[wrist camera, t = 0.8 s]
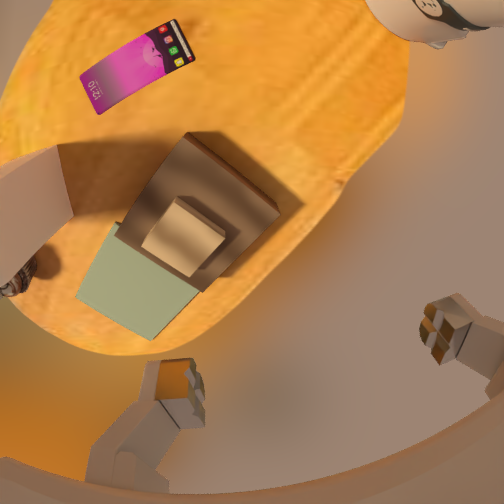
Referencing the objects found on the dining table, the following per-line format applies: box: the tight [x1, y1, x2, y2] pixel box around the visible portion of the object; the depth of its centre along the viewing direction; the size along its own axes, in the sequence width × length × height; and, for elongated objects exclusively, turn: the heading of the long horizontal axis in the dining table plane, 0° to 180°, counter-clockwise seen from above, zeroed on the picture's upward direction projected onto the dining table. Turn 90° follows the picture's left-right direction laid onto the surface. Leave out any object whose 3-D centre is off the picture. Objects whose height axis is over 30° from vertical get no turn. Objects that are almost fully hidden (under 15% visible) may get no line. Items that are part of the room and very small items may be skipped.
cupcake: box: [0, 255, 37, 299], centre depth 37 cm, size 10×10×10 cm
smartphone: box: [80, 19, 195, 115], centre depth 28 cm, size 7×15×1 cm, turn 112°
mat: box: [75, 222, 199, 341], centre depth 47 cm, size 20×18×1 cm
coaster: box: [141, 196, 225, 277], centre depth 37 cm, size 8×8×2 cm
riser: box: [114, 132, 281, 293], centre depth 39 cm, size 17×16×4 cm
